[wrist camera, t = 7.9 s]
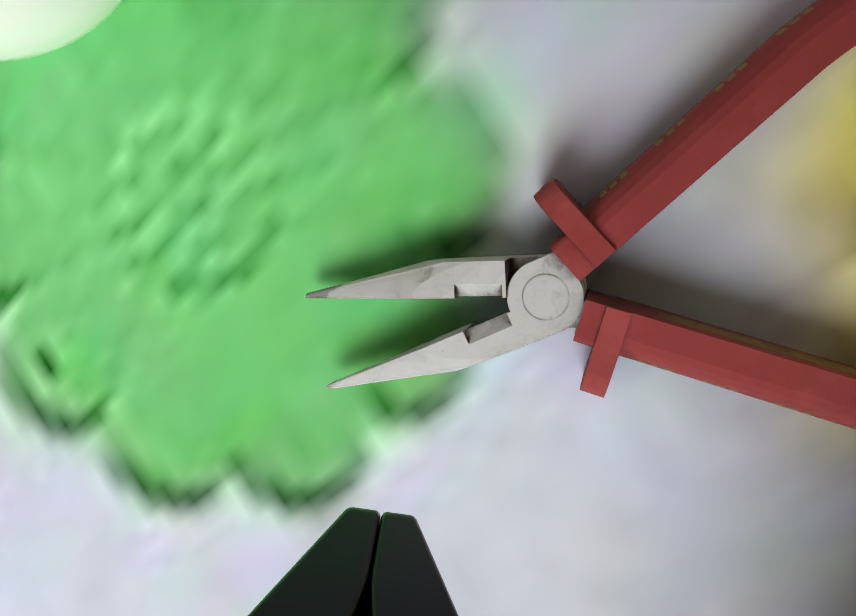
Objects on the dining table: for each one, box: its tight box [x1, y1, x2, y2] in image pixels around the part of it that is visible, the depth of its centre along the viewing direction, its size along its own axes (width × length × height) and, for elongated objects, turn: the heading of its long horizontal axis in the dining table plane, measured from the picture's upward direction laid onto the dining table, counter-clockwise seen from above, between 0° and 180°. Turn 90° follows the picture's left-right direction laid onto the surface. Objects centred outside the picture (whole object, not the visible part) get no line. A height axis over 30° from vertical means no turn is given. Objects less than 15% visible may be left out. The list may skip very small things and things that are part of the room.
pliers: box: [306, 0, 856, 429], centre depth 18 cm, size 12×20×3 cm, turn 104°
